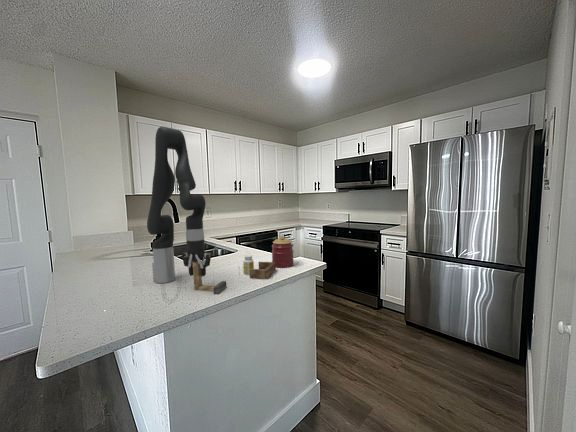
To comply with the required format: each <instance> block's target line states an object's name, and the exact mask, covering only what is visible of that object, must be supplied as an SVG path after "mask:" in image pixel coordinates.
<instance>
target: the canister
mask: <svg viewBox="0 0 576 432" xmlns="http://www.w3.org/2000/svg"><path fill="white" fill-rule="evenodd" d="M272 243H273V244H272V245H271V249H272V251H271V256H272V257H271V260H272V261H271V262H276V268H278V269H284V268H285V269H286V268H291V267H292V266H294V249H293V247H294V244H292V240H290V238H285V236H284V235H280V237H279V238H276V239H275V240H273V241H272Z"/></svg>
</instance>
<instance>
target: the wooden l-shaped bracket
mask: <svg viewBox="0 0 576 432" xmlns="http://www.w3.org/2000/svg"><path fill="white" fill-rule="evenodd" d="M192 277H193V290H194V291H200V292H201V291H204V292H213V295H219V294H220V293H221V292H223V291H224V290H225V289H227V280H222V281H220V282H219V283H217V284H216V285H206V284H205V285H204V284H203V278H202V277H203V276H201V266H200V264H199V263H198V261H194V262H193V275H192Z"/></svg>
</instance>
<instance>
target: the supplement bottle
mask: <svg viewBox="0 0 576 432" xmlns="http://www.w3.org/2000/svg"><path fill="white" fill-rule="evenodd" d="M254 266H255V265H254V259H253V255H251V254H250V255H249V254H248V255H244V259H243V274H244V275H245V276H250V271H249V270H250V269H255V267H254Z"/></svg>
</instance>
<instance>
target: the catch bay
mask: <svg viewBox="0 0 576 432" xmlns="http://www.w3.org/2000/svg"><path fill="white" fill-rule="evenodd" d="M276 270H277V267H276V262H272V261H258V268H254V269H250V270H249V271H250V275H249V279H253V280H254V279H256V280H257V279H258V280H269V279H270V277H271V276H272V275H273V274H274V272H276Z"/></svg>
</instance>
